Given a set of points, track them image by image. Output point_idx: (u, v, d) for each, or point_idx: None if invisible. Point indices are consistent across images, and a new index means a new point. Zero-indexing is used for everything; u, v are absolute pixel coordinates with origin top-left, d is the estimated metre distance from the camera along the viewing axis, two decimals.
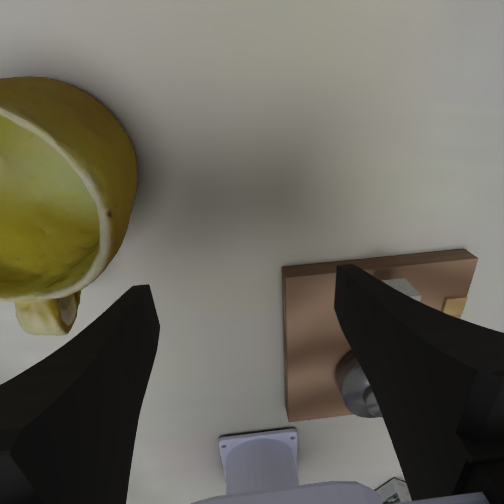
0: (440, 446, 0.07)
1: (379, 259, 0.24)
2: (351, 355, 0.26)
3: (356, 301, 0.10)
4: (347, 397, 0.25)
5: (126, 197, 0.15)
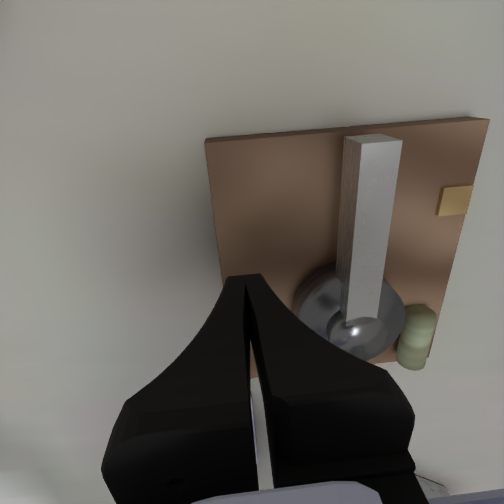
0: (275, 467, 0.07)
1: (346, 127, 0.16)
2: (311, 276, 0.18)
3: (250, 312, 0.10)
4: None
5: None
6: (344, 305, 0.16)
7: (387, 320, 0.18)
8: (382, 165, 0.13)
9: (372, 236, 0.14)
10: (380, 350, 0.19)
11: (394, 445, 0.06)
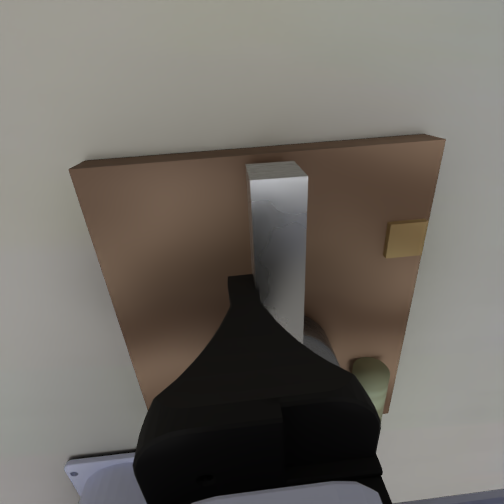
0: None
1: (264, 147, 0.13)
2: None
3: None
4: None
5: None
6: None
7: None
8: (284, 209, 0.09)
9: (282, 297, 0.11)
10: None
11: (361, 449, 0.06)
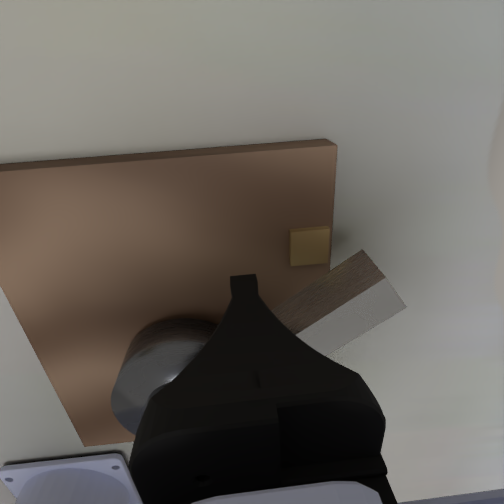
0: None
1: (157, 153, 0.12)
2: (195, 322, 0.14)
3: None
4: (134, 373, 0.13)
5: None
6: None
7: None
8: (375, 309, 0.11)
9: None
10: None
11: (366, 449, 0.06)
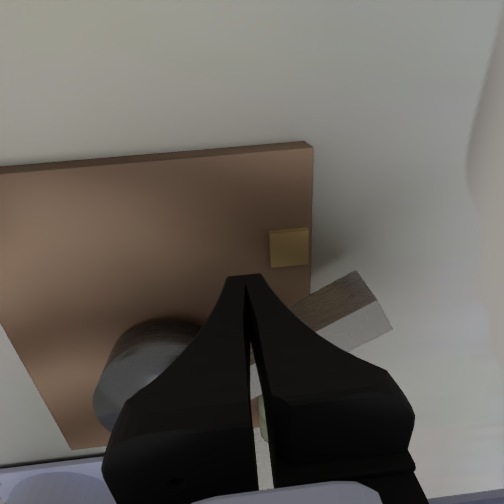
0: (275, 467, 0.07)
1: (136, 156, 0.13)
2: (185, 325, 0.14)
3: (250, 312, 0.10)
4: (120, 371, 0.13)
5: None
6: None
7: None
8: (364, 328, 0.11)
9: None
10: None
11: (394, 445, 0.06)
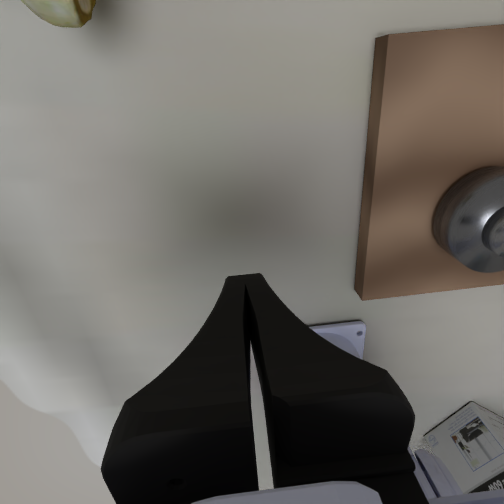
0: (275, 467, 0.07)
1: None
2: None
3: (250, 312, 0.10)
4: (497, 189, 0.17)
5: None
6: None
7: None
8: None
9: None
10: (479, 268, 0.19)
11: (394, 445, 0.06)
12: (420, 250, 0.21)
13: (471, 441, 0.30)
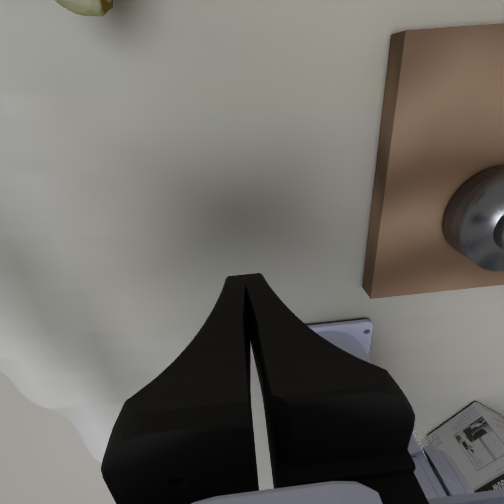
0: (275, 467, 0.07)
1: None
2: None
3: (250, 312, 0.10)
4: None
5: None
6: None
7: None
8: None
9: None
10: (490, 267, 0.19)
11: (394, 445, 0.06)
12: (430, 248, 0.21)
13: (475, 440, 0.30)
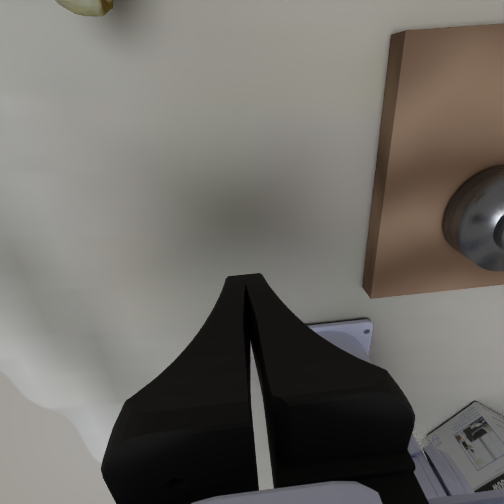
0: (275, 467, 0.07)
1: None
2: None
3: (250, 312, 0.10)
4: None
5: None
6: None
7: None
8: None
9: None
10: (490, 267, 0.19)
11: (394, 445, 0.06)
12: (430, 248, 0.21)
13: (475, 440, 0.30)
